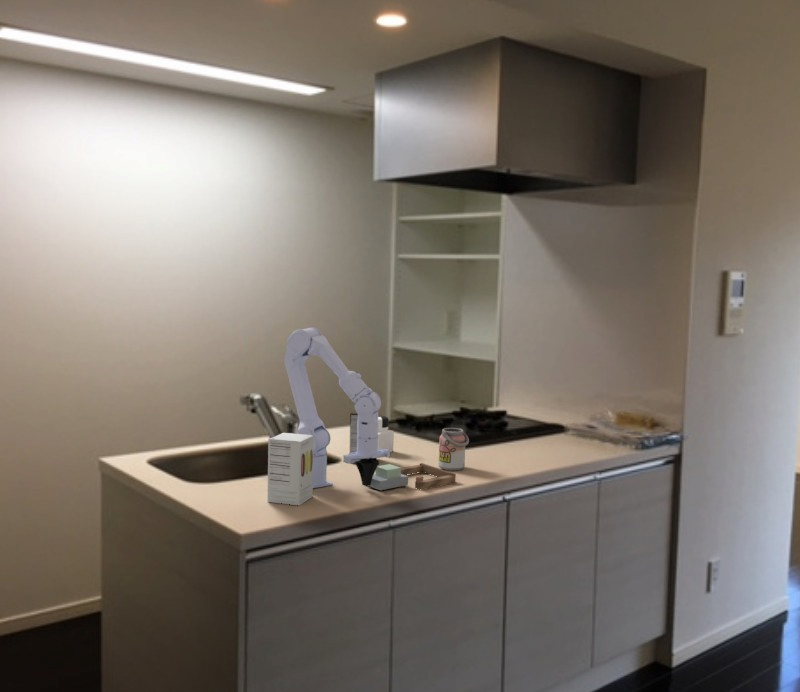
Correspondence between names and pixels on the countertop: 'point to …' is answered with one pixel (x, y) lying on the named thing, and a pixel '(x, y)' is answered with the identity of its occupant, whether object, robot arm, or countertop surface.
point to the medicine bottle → (385, 434)
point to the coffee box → (353, 432)
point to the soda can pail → (452, 449)
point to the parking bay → (441, 478)
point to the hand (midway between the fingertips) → (366, 485)
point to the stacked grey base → (388, 477)
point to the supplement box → (290, 468)
